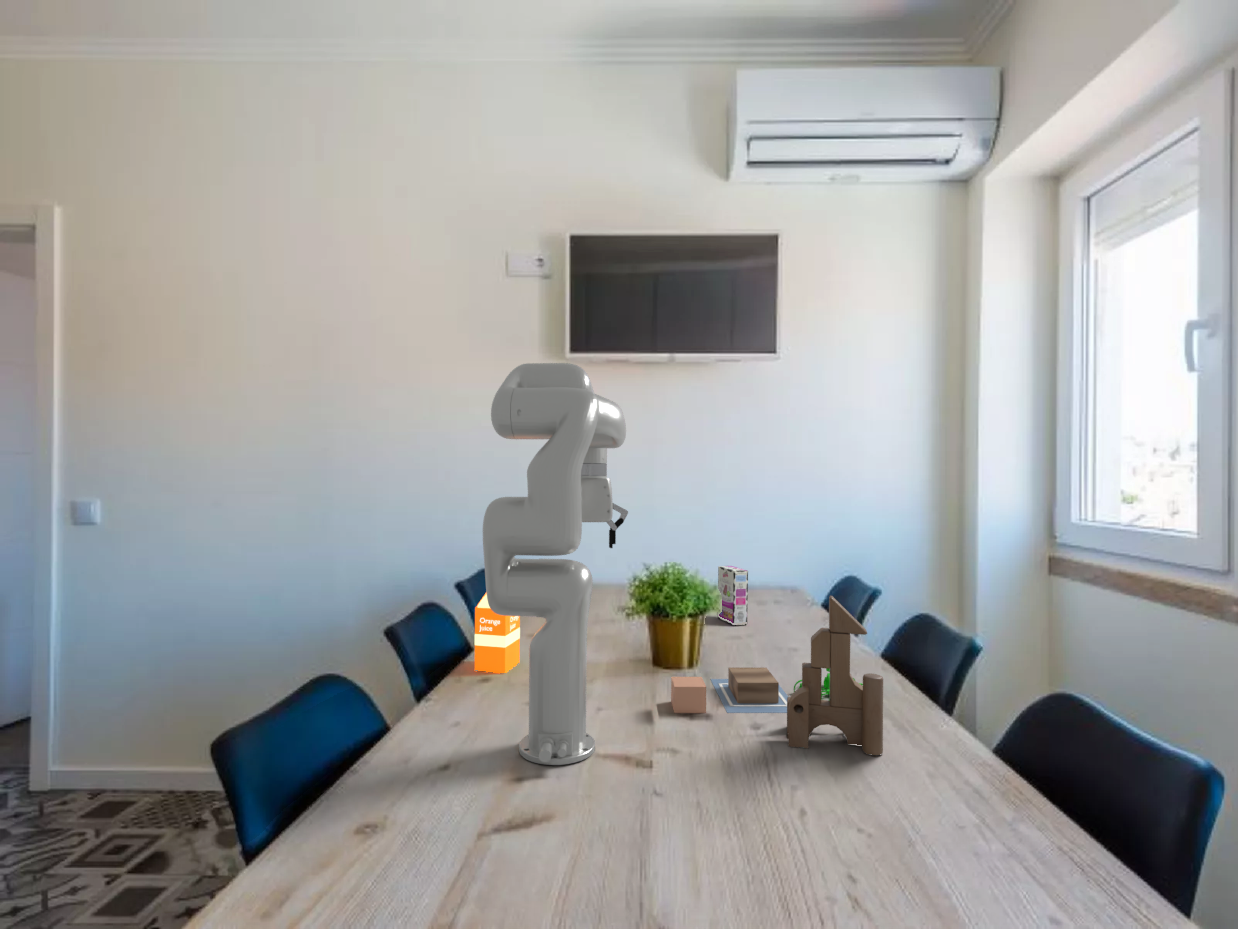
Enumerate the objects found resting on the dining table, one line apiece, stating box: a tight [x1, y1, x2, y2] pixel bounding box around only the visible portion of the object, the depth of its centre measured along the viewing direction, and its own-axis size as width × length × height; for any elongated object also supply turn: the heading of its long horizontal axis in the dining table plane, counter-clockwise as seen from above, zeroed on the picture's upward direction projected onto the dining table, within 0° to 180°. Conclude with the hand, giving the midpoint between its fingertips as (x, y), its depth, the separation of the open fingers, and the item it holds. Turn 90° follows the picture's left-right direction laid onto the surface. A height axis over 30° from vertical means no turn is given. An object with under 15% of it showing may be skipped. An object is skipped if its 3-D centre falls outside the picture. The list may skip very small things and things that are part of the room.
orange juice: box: [474, 592, 521, 674], centre depth 158 cm, size 8×9×20 cm
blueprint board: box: [710, 678, 789, 714], centre depth 137 cm, size 20×14×1 cm
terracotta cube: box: [670, 676, 707, 714], centre depth 130 cm, size 6×6×6 cm
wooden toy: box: [786, 595, 884, 756], centre depth 115 cm, size 16×7×25 cm, turn 75°
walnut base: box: [727, 667, 780, 703], centre depth 137 cm, size 10×8×4 cm
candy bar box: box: [717, 565, 749, 623], centre depth 205 cm, size 11×5×16 cm, turn 17°
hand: (589, 547), depth 152 cm, fingers open, 9 cm apart
